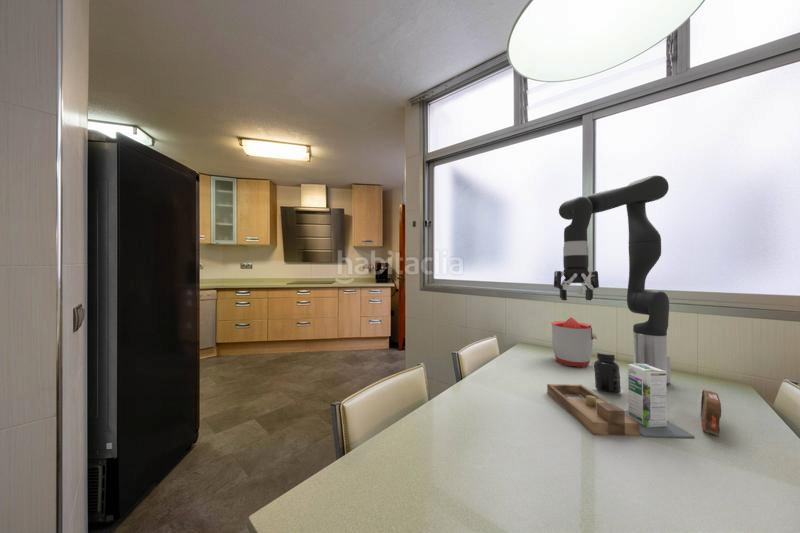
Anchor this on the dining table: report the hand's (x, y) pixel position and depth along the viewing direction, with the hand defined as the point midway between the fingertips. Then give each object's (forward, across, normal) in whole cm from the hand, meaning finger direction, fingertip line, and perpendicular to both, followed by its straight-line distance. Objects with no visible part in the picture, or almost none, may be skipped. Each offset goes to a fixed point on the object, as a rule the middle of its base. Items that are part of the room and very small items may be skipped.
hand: (576, 300), depth 97 cm
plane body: (+30, +8, +18) cm, 36 cm away
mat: (+30, -4, +24) cm, 39 cm away
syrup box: (+30, -4, +24) cm, 38 cm away
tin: (+30, -19, +25) cm, 44 cm away
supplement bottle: (+30, -7, +5) cm, 31 cm away
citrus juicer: (+30, -13, -24) cm, 41 cm away
